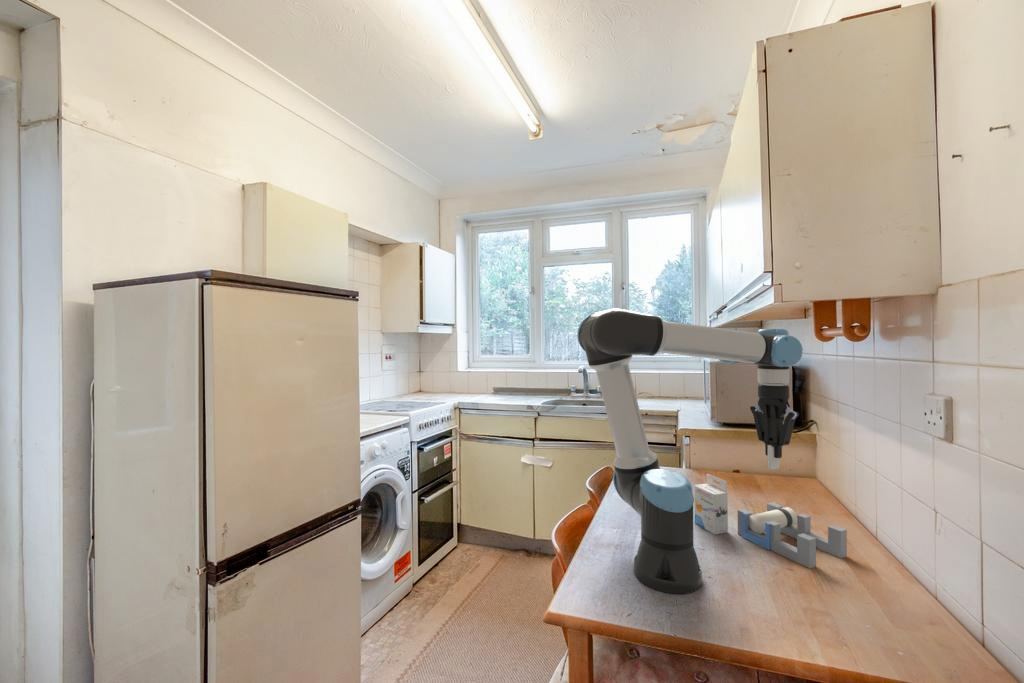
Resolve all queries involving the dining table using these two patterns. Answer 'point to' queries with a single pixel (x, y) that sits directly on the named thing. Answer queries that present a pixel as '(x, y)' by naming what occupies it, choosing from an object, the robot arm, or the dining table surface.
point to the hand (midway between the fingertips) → (773, 468)
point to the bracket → (802, 533)
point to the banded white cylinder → (772, 519)
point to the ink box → (712, 505)
